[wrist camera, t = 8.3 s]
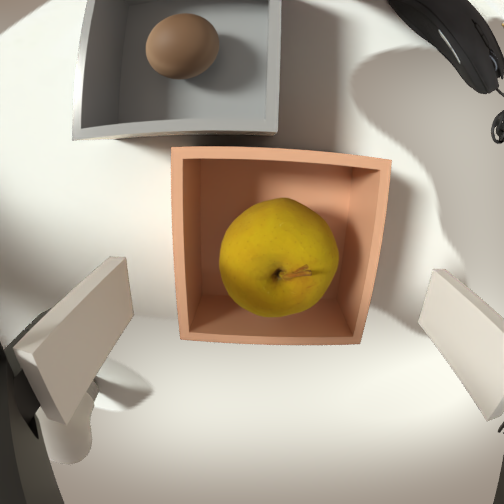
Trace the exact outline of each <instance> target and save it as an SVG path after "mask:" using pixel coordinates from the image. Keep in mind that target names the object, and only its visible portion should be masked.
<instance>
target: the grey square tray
mask: <svg viewBox="0 0 504 504" xmlns="http://www.w3.org/2000/svg"><path fill="white" fill-rule="evenodd" d="M281 4H282V0H87V4H86V9H85V14H84V19H83V24H82V30H81V36H80V42H79V49H78V57H77V65H76V75H75V86H74V101H73V126H72V141H74V140H100V139H122V138H134V137H149V136H168V135H208V134H221V135H262V136H273V135H275V134H276V133H277V132H278V114H279V85H280V52H281ZM182 13H189V14H195V15H198V16H201V17H203V18H205V19H206V20H208V21H209V22H210V23H211V24H212V25H213V26H214V28H215V29H216V31H217V34H218V37H219V51H218V54H217V57H216V59H215V60H214V62H213V63H212V65H211V66H210V67H209V68H208V69H207V70H206V71H204V72H203V73H201V74H200V75H197V76H195V77H192V78H189V79H180V80H178V79H170V78H167V77H165V76H162V75H161V74H159V73H158V72H156V71H155V70H154V69H153V68H152V66H151V65H150V63H149V61H148V59H147V56H146V42H147V39H148V37H149V34H150V33H151V31H152V30H153V28H154V27H155V26H156V25H157V24H158V23H159V22H161V21H162V20H164V19H165V18H167V17H169V16H172V15H176V14H182Z"/></svg>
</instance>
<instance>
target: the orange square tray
mask: <svg viewBox="0 0 504 504" xmlns="http://www.w3.org/2000/svg"><path fill="white" fill-rule="evenodd" d="M391 163H392V160H388V159H381V158H375V157H368V156H360V155H352V154H343V153H334V152H323V151H312V150H299V149H284V148H266V147H236V146H187V147H171V205H172V235H173V255H174V272H175V286H176V299H177V311H178V321H179V332H180V339H181V340H193V341H206V342H222V343H239V344H267V345H346V344H347V345H348V344H360V342H361V338H362V334H363V330H364V327H365V322H366V318H367V314H368V310H369V306H370V301H371V297H372V292H373V287H374V282H375V277H376V272H377V267H378V261H379V256H380V250H381V244H382V238H383V231H384V225H385V218H386V210H387V202H388V194H389V184H390V174H391ZM276 198H290V199H293V200H296V201H297V202H299V203H301V204H303V205H305V206H307V207H308V208H310V209H311V210H313V211H314V212H316V213H317V214H319V215H320V216H321V217H322V218H323V219H324V220H325V221H326V223H327V224H328V225H329V227H330V229H331V231H332V233H333V236H334V238H335V241H336V244H337V248H338V251H339V263H338V268H337V271H336V273H335V275H334V277H333V279H332V281H331V283H330V285H329V287H328V288H327V290H326V292H325V293H324V295H323V296H322V297H321V299H320V300H319V301H318V302H317V303H316V304H315V305H313V306H312V307H311V308H309V309H307V310H305V311H302V312H300V313H295V314H291V315H287V316H283V317H262V316H258V315H256V314H253V313H251V312H249V311H247V310H245V309H244V308H242V307H240V306H239V305H238V304H237V303H236V302H234V300H233V299H232V298H231V297H230V296H229V294H228V292H227V290H226V288H225V286H224V284H223V281H222V278H221V273H220V268H219V257H220V249H221V243H222V240H223V238H224V235H225V233H226V231H227V229H228V228H229V226H230V225H231V223H232V222H233V221H234V220H235V219H236V218H237V217H238V216H240V215H241V214H242V213H243V212H244V211H245V210H247V209H248V208H250V207H251V206H253V205H255V204H257V203H260V202H263V201H267V200H272V199H276Z"/></svg>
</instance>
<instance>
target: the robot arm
mask: <svg viewBox="0 0 504 504" xmlns="http://www.w3.org/2000/svg"><path fill="white" fill-rule="evenodd" d="M133 316H134V312H133V306H132V299H131V293H130V285H129V278H128V270H127V262H126V257H109V258H108V259H107V260H105V261H104V262H103V263H102V264H101V265H100V266H98V267H97V268H96V269H95V270H94V271H93V272H92V273H90V274H89V275H88V276H87V277H86V278H85V279H84V280H82V281H81V282H80V283H79V284H78V285H77V286H76V287H75V288H74V289H72V290H71V291H70V292H69V293H68V294H67V295H66V296H65V297H64V298H63V299H62V300H61V301H59V302H58V303H57V304H56V305H55V306H54V307H53V308H51V309H49V310H47V311H45V312H43V313H41V314H40V315H39V316H38V317H37V318H36V319H34V320H33V321H32V324H29V325H28V326H27V327H26V328H25V330H23V331H22V332H21V333H20V334H19V335H18V336H17V337H16V338H15V339H14V340H13V341H12V342H11V343H10V344H9V345H8V346H7V347H6V348H5V349H4V350H3V347H2V345H1V342H0V504H64V501H63V499H62V496H61V493H60V491H59V488H58V485H57V482H56V479H55V477H54V473H53V470H52V467H51V464H50V460H49V457H48V453H47V450H46V446H45V442H44V438H43V434H42V430H41V426H40V421H39V419H38V417H37V415H36V412H37V410H38V409H39V407H40V406H41V408H42V410H43V412H44V413H45V415H46V417H47V419H50V420H52V421H55V422H58V423H61V424H64V425H67V424H68V422H69V421H70V419H71V417H72V415H73V414H74V412H75V410H76V408H77V407H78V405H79V403H80V401H81V400H82V398H83V396H84V394H85V393H86V391H87V389H88V388H89V386H90V384H91V383H92V381H93V379H94V378H95V376H96V374H97V373H98V371H99V369H100V368H101V366H102V365H103V363H104V361H105V360H106V358H107V356H108V355H109V353H110V352H111V350H112V348H113V347H114V345H115V344H116V342H117V340H118V339H119V337H120V336H121V334H122V333H123V331H124V330H125V328H126V327H127V325H128V323H129V322H130V321H131V319H132V317H133ZM418 323H419V325H420V326H421V327H422V329H423V330H424V331H425V332H426V334H427V335H428V336H429V338H430V339H431V340H432V342H433V343H434V344H435V346H436V347H437V348H438V350H439V351H440V353H441V354H442V355H443V357H444V358H445V359H446V361H447V362H448V364H449V365H450V367H451V368H452V369H453V371H454V372H455V374H456V375H457V376H458V378H459V379H460V381H461V382H462V384H463V385H464V387H465V388H466V390H467V391H468V393H469V394H470V396H471V397H472V399H473V400H474V402H475V403H476V405H477V406H478V408H479V410H480V411H481V413H482V414H483V416H484V418H485V419H486V421H489V420H492V419H495V418H497V417H500V416H501V415H502V413H503V412H504V319H503V318H502V317H501V316H500V315H499V314H498V313H497V312H496V311H495V310H493V309H492V308H491V307H490V306H489V305H488V304H487V303H486V302H484V301H483V300H482V299H481V298H480V297H479V296H478V295H476V294H475V293H474V292H473V291H472V290H470V289H469V288H468V287H467V286H466V285H464V284H463V283H462V282H461V281H460V280H458V279H457V278H456V277H455V276H453V275H452V274H451V273H450V272H448V271H447V270H446V269H433V270H432V274H431V278H430V282H429V286H428V290H427V293H426V297H425V300H424V304H423V307H422V311H421V314H420V317H419V320H418ZM503 428H504V422H503V423H502V425H501V426H500V427H499V429H498V432H501V430H502V429H503ZM503 434H504V433H503ZM493 504H504V456H503V462H502V467H501V472H500V478H499V482H498V486H497V491H496V495H495V499H494V503H493Z"/></svg>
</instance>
